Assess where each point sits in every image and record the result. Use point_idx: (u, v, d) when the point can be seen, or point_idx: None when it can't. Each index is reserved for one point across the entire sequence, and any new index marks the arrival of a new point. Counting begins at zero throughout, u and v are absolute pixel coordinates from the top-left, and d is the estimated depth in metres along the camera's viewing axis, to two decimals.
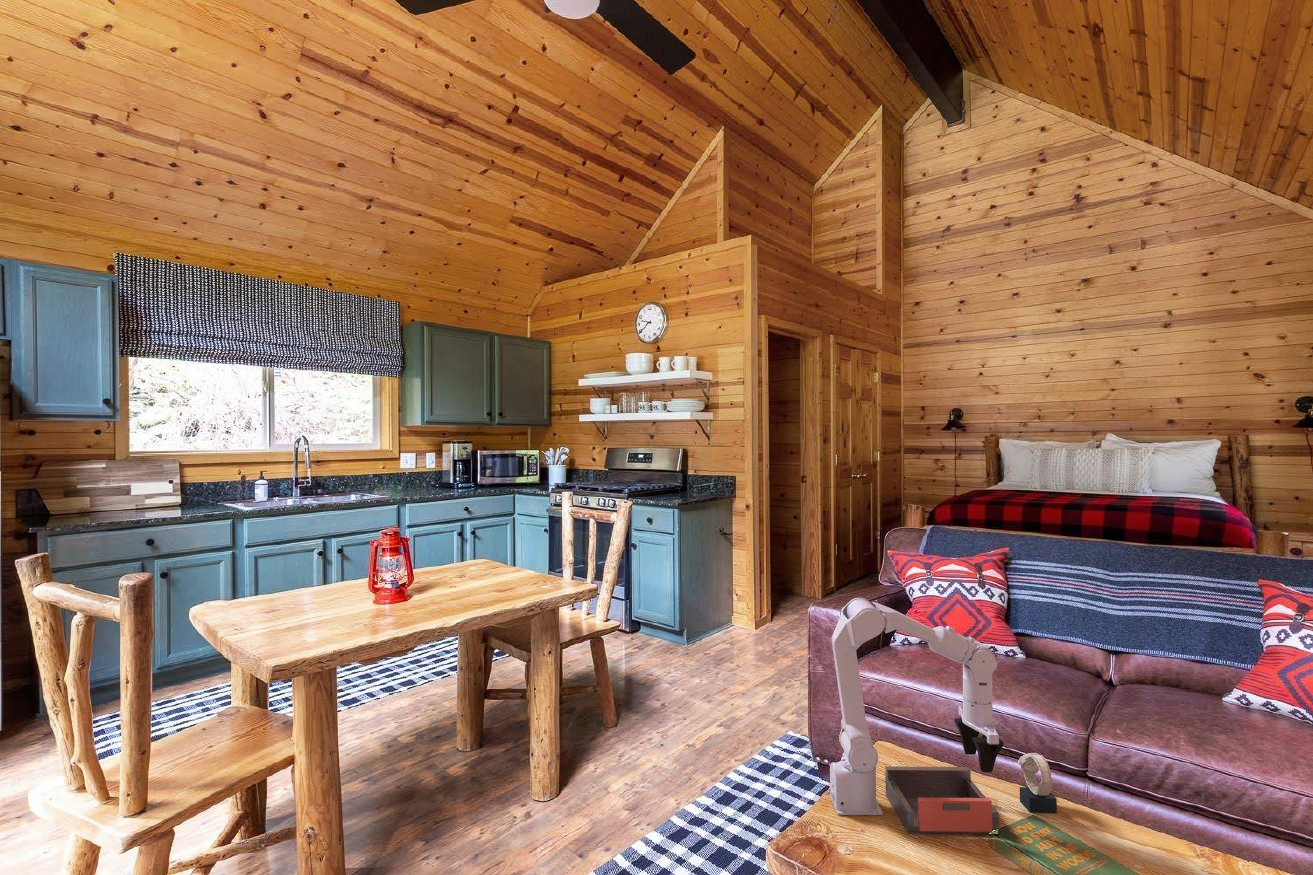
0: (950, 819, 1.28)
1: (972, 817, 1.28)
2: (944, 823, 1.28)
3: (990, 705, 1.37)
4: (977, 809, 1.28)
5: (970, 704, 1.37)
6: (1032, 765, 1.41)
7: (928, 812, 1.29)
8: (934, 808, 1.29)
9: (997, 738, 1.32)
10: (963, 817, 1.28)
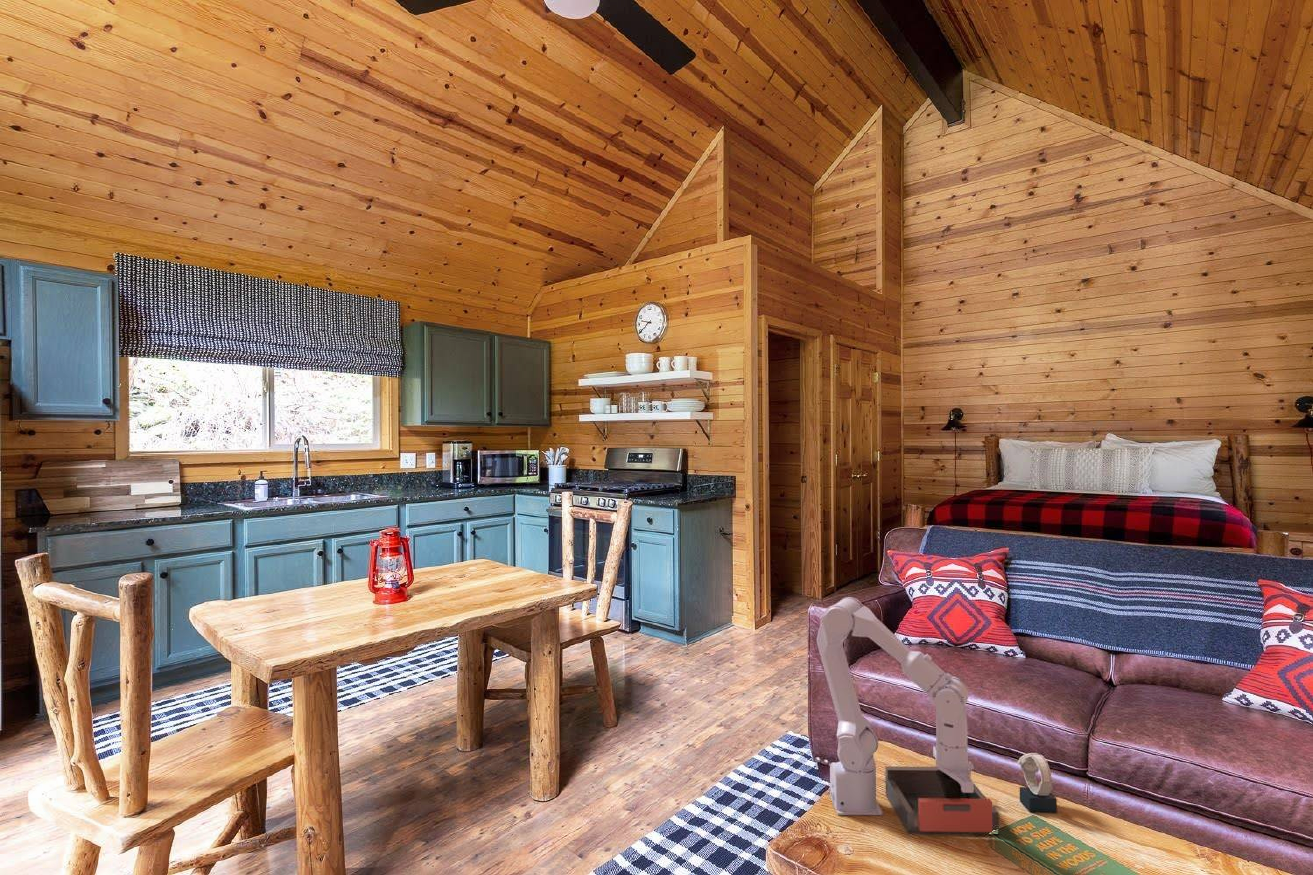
0: (950, 819, 1.28)
1: (972, 818, 1.28)
2: (944, 823, 1.28)
3: (965, 749, 1.28)
4: (977, 810, 1.28)
5: (943, 748, 1.28)
6: (1032, 765, 1.41)
7: (928, 813, 1.28)
8: (934, 809, 1.28)
9: (971, 786, 1.23)
10: (963, 818, 1.28)
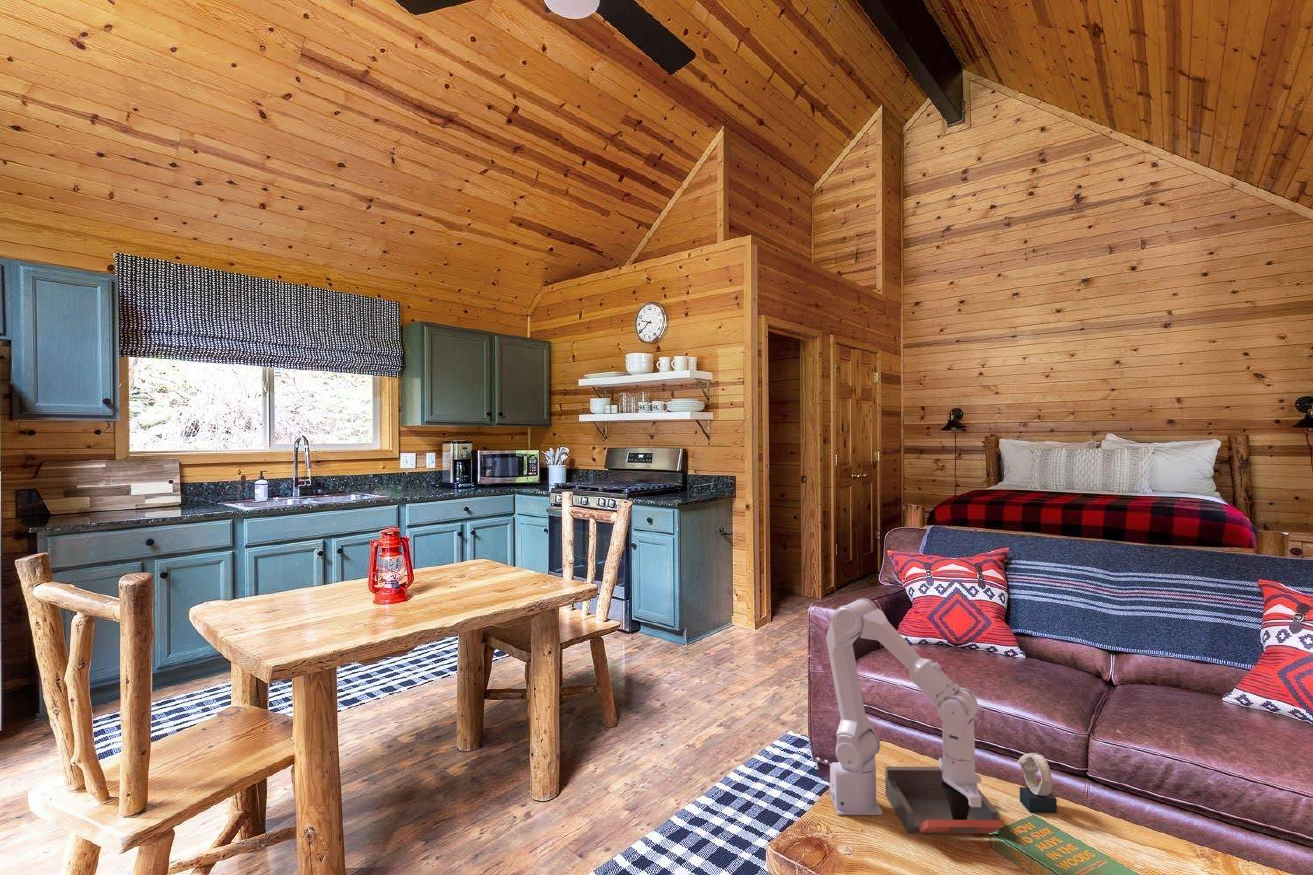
0: (953, 830, 1.27)
1: None
2: (946, 831, 1.28)
3: (972, 761, 1.24)
4: (984, 828, 1.25)
5: (950, 760, 1.25)
6: (1032, 765, 1.41)
7: (933, 828, 1.26)
8: (941, 828, 1.25)
9: (979, 800, 1.19)
10: None
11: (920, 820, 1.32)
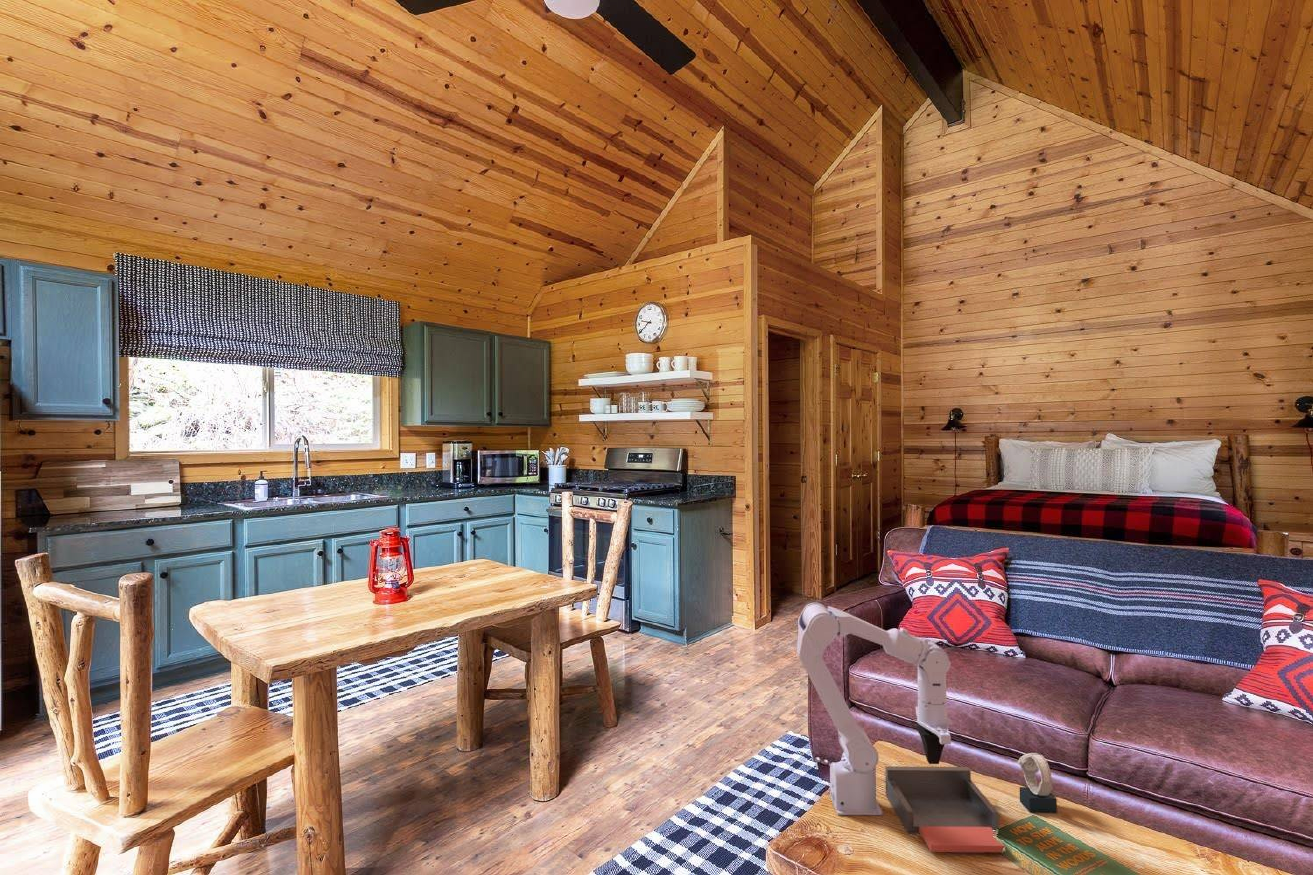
0: None
1: None
2: None
3: (944, 705, 1.38)
4: None
5: (924, 704, 1.38)
6: (1032, 765, 1.41)
7: None
8: None
9: (949, 738, 1.33)
10: None
11: (920, 820, 1.32)
